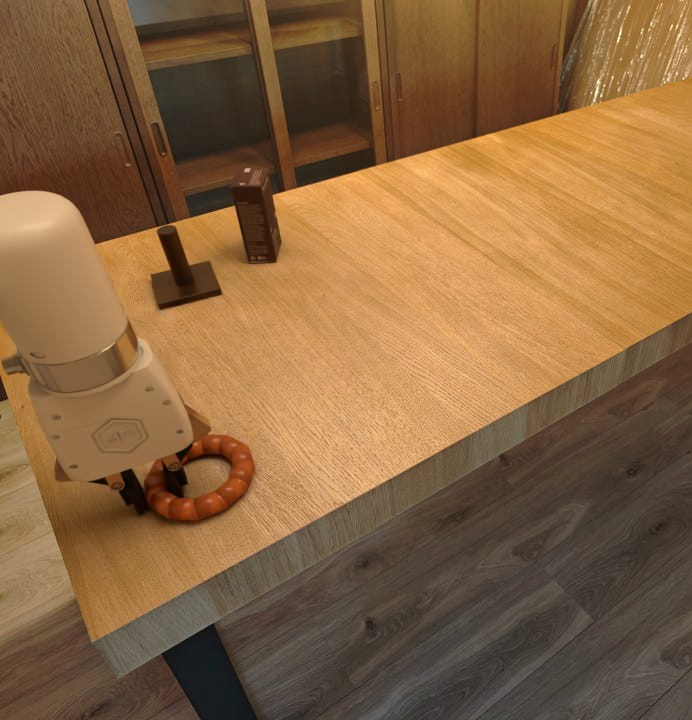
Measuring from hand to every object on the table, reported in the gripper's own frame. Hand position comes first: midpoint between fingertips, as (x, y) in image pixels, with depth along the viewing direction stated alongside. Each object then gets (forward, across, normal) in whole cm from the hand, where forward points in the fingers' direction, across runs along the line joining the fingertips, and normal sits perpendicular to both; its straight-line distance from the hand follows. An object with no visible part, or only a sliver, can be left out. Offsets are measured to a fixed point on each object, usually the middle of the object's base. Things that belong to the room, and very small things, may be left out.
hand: (160, 495), depth 62 cm
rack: (0, +8, +36) cm, 37 cm away
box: (0, +20, +40) cm, 45 cm away
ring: (-1, +4, 0) cm, 4 cm away
